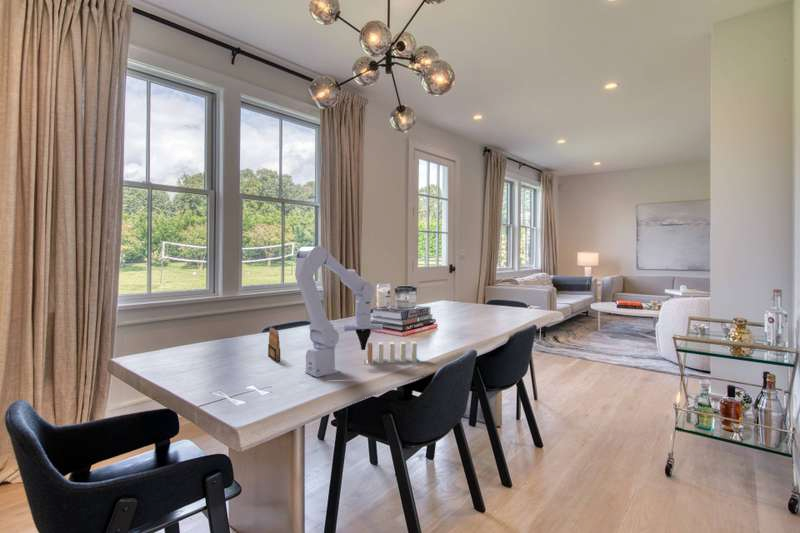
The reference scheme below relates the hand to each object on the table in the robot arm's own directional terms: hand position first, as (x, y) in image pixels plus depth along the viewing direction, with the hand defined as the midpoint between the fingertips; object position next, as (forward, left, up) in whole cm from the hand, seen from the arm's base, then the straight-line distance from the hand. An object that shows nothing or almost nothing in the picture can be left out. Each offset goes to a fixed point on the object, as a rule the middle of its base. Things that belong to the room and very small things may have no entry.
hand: (363, 349), depth 153 cm
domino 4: (+16, -11, -5) cm, 20 cm away
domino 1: (+5, -4, -5) cm, 8 cm away
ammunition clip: (-22, +28, -6) cm, 36 cm away
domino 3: (+12, -9, -5) cm, 16 cm away
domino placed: (+2, -1, -5) cm, 5 cm away
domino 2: (+9, -6, -5) cm, 12 cm away
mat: (+9, -6, -5) cm, 12 cm away
